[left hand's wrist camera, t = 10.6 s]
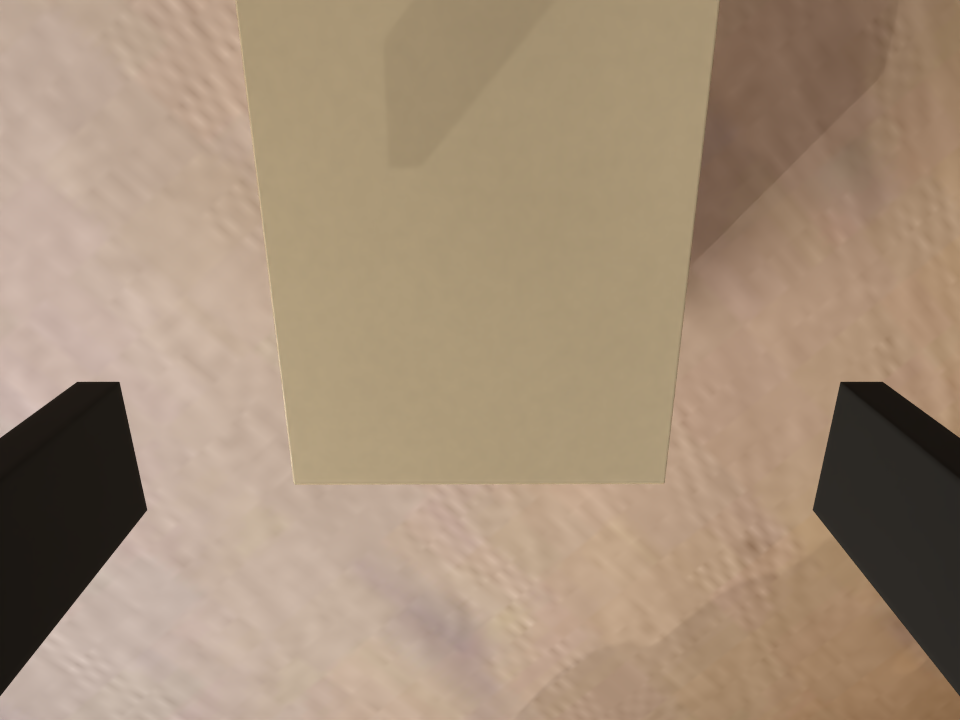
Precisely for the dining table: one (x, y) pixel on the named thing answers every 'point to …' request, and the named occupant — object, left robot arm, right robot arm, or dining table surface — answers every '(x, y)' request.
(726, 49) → the dining table surface
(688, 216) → the cabinet
